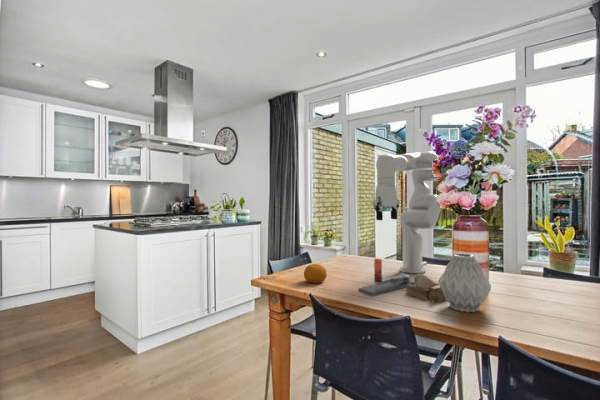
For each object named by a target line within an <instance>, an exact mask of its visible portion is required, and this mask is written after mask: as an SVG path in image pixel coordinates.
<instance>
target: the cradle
mask: <svg viewBox="0 0 600 400" xmlns="http://www.w3.org/2000/svg"><path fill="white" fill-rule="evenodd" d="M433 282H434V283H435V284H436V285H437V286H434V287H430V290H429V289H425V288H421V287H417V286H415V285H410V284H409V285H406V287H405V288H406V289H405V290H406V291H405V292H406V295H409V296H411V297H415V298H418V299H421V300H426V301H427V300H429V301H430V302H432V303H438V302H441V301H444V300H446V298H445V296H444V294H443V291H442V290H441V287H440V285H439V282H437V281H433Z"/></svg>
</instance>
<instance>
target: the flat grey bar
mask: <svg viewBox="0 0 600 400" xmlns="http://www.w3.org/2000/svg"><path fill="white" fill-rule="evenodd" d="M410 278H411V277H410ZM410 278H409V279H403V283H400V284H396V285H395V284H391V282H389V283H385V284H381V285H377V284H374V283H373V284H370V285H366V286H362V287H358V292H360V293H363V294H366V295H369V296H372V297H374V296H377V295H378V294H379V295H381V294H382V293H383V294H386V293H389V292H394V291H398V290H401V289H404V288H406V285H409V284H410V285H414V286H415V281H412V280H411V279H410ZM383 294H382V295H383Z"/></svg>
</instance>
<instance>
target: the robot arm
mask: <svg viewBox="0 0 600 400" xmlns="http://www.w3.org/2000/svg"><path fill="white" fill-rule="evenodd" d="M437 156H438V154H436V152H434V151H420V152H411V153H402V154H397V155H393V154H382V155H378V157H377V160H376V163H375V166H376V169H377V185H376V188H375V197H374V198H375V199H374V200H373V201H372V202H371V203H372V205H373V209H374V211H375V219H376V221H383V220H384V219H383V218H384V217H383V212H384V211H383V209H384V208H390V219H391V220H398V211H399V207H400V203H401V201H400V199H398V197H397V195H398V194H397V187H396V173H398V172H405V171H406V172H407V171H411V180H412V183H413V188H414V190H413V192H412V196H411V197H410V200H409V203H408V207H409V208H408V209H407V210H404V211H402V212H401V214H400V217H399V220H400V225H401V232H402V266H400V267H399V271H401V272H402V273H405V274H423V273H425V272H426V268H424V266H427V265H428V262H427V261H423V236H422V234H421V232H420V231H419V230H432V229H434V228H435V227H436V225H437V222H438V218H439V216H440V214H441V209H442V207H441V208H440V206H439V205H438V204H437V202H436V198H437V196H438V195H437V194H431V188H430V187H429V185H428V184H426V183H425V182H437V181H438V180H437V179H436V178H435V177H434V175H433V173H432V162H433V160H435V159H436V158H437Z"/></svg>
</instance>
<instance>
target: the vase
mask: <svg viewBox="0 0 600 400" xmlns="http://www.w3.org/2000/svg"><path fill="white" fill-rule="evenodd" d="M437 283H439V285H440V287H441V290H442V291H443V294H444V296H445V298H446V299H445V300H446V301H447V302H448V303H449V306H450V308H452V309H454V311H459V312H465V313H475V312H479V309H480V307H481V306H483V304H484V303H485V302H486V299H487V297H488V295H489V294H490V292H491V290H492V285H491V283H490V281H489V280H488V278H487V277H486V276H485V274H484V271H483V268H482V266H481V265H480V264H479V262H478V260H477V259H476V258H475V255H474V254H473V255H472V254H469V253H455V254H454V253H453V255H452V257H451V258H450V261H449V262H448V263H447V264H446V266H445V268H444V272H443V273H442V275H441V276H440V277H439V279H438V281H437Z"/></svg>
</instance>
